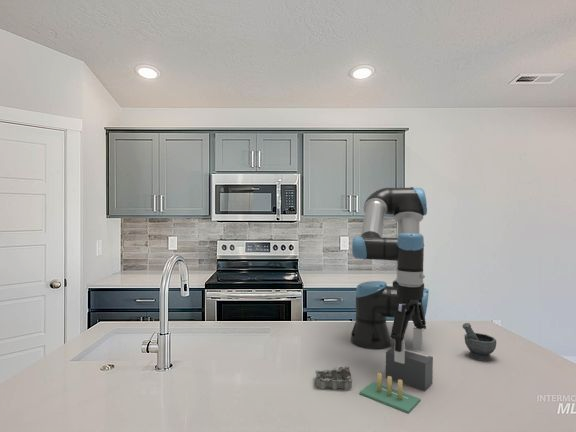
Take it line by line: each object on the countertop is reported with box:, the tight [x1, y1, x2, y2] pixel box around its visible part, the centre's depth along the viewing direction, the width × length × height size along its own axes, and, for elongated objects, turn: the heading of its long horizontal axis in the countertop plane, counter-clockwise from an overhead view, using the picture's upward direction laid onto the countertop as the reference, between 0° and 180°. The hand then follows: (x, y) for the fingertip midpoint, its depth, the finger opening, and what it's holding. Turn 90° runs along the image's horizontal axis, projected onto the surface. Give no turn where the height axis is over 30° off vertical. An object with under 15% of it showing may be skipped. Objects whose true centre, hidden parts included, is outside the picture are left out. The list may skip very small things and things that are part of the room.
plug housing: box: [385, 345, 434, 392], centre depth 105 cm, size 12×6×8 cm, turn 48°
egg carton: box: [315, 366, 353, 391], centre depth 103 cm, size 11×8×4 cm
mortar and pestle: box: [461, 322, 497, 361], centre depth 124 cm, size 11×9×12 cm
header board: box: [359, 372, 421, 414], centre depth 96 cm, size 14×8×6 cm, turn 48°
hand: (409, 355), depth 105 cm, fingers open, 13 cm apart
